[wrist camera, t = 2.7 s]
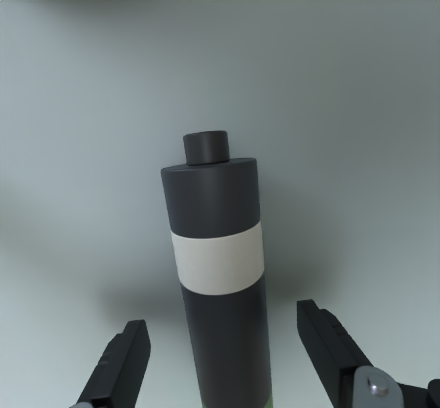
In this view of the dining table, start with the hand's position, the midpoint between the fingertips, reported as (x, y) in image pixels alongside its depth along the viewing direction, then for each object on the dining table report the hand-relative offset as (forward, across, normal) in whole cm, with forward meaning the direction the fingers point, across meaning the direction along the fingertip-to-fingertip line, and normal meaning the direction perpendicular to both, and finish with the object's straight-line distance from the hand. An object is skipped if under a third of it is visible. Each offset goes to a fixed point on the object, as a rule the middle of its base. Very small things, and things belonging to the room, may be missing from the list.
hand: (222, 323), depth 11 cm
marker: (+2, 0, 0) cm, 2 cm away
